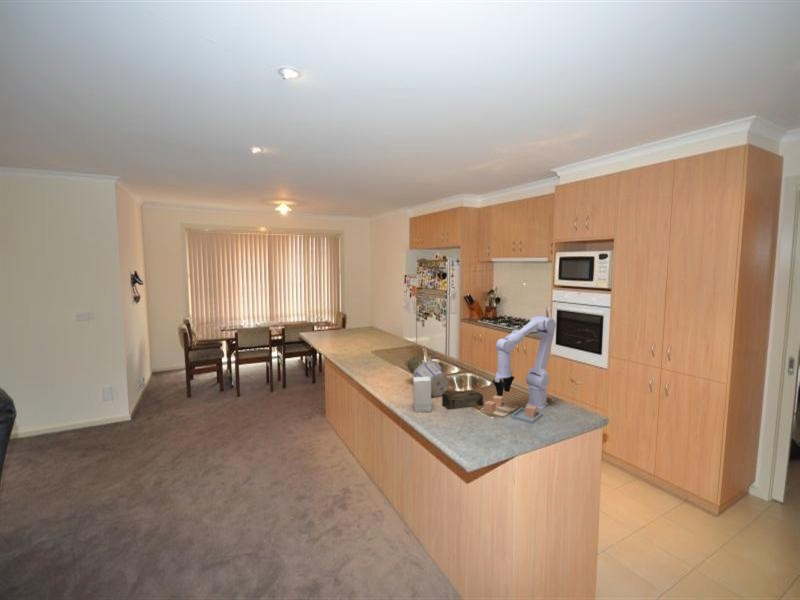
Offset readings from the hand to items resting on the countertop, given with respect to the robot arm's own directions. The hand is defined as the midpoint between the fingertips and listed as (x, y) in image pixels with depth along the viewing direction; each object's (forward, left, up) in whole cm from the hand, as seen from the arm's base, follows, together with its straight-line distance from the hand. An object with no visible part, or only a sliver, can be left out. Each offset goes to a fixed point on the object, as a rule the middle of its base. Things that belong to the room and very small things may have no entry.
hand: (503, 393), depth 181 cm
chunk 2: (-7, -6, -9) cm, 13 cm away
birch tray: (-2, -3, -10) cm, 10 cm away
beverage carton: (+4, -20, -10) cm, 22 cm away
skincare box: (+21, -32, -10) cm, 39 cm away
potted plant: (-3, -48, -10) cm, 49 cm away
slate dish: (-2, +10, -10) cm, 14 cm away
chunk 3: (-5, +11, -9) cm, 15 cm away
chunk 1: (+2, -6, -9) cm, 11 cm away
